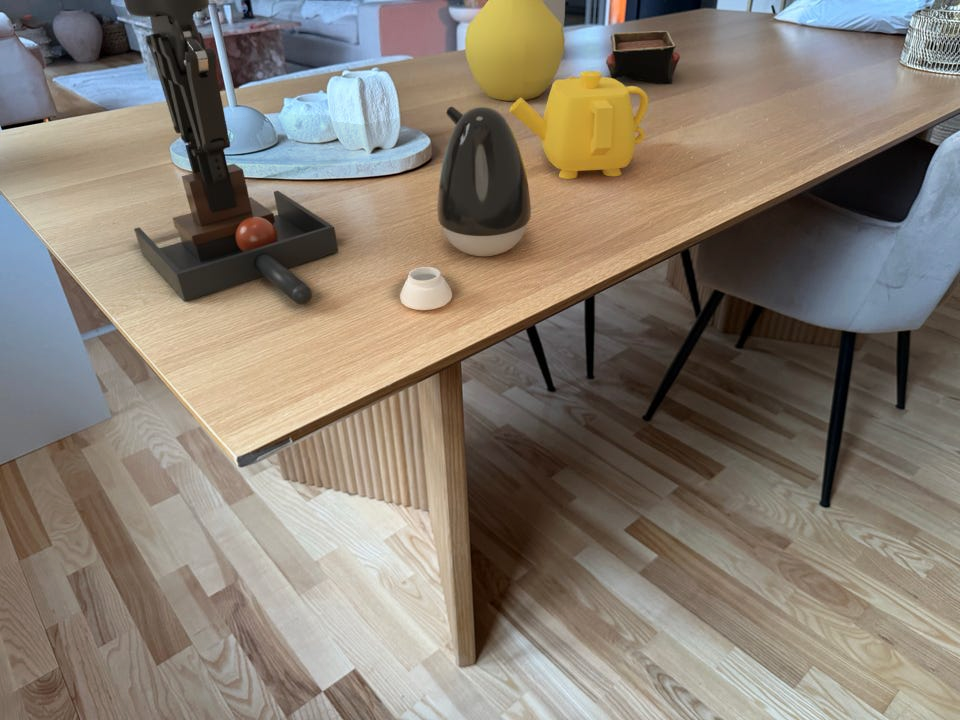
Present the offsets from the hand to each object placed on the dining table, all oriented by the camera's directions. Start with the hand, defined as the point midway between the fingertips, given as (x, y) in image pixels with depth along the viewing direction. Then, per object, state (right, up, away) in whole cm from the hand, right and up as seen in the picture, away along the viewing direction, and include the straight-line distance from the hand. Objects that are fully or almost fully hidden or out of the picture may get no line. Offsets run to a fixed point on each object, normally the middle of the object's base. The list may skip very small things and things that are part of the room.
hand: (218, 204), depth 78 cm
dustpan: (+5, -8, -3) cm, 10 cm away
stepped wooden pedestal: (0, -4, +3) cm, 5 cm away
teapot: (+43, +10, +21) cm, 49 cm away
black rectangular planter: (+62, +40, +65) cm, 99 cm away
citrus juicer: (+40, +53, +84) cm, 107 cm away
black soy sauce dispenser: (+30, -5, 0) cm, 30 cm away
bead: (+5, -4, -2) cm, 7 cm away
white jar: (+24, -12, -10) cm, 29 cm away
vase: (+36, +33, +55) cm, 74 cm away
